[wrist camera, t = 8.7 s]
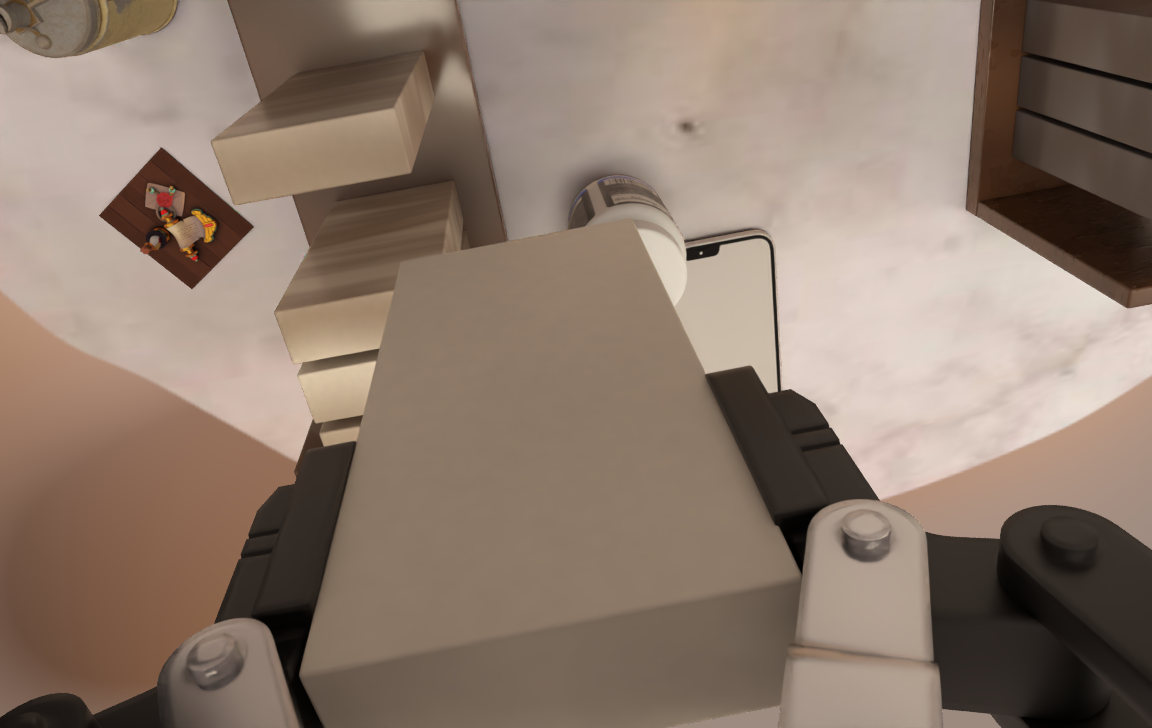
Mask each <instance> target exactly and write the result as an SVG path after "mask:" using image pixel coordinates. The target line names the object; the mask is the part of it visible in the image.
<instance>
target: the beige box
mask: <svg viewBox="0 0 1152 728" xmlns="http://www.w3.org/2000/svg"><path fill="white" fill-rule="evenodd" d="M705 374H706V373H705V370H704V368H703V366H702V364H701V362H700V360H699V358H698V356H697V354H696V352H695V349H694V347H693V345H692V343H691V341H690V339H689V337H688V335H687V333H686V331H685V328H684V326H683V324H682V322H681V320H680V318H679V316H678V314H677V312H676V310H675V308H674V305H673V303H672V301H671V299H670V297H669V295H668V293H667V291H666V289H665V287H664V284H663V282H662V280H661V278H660V276H659V274H658V272H657V270H656V268H655V266H654V263H653V261H652V259H651V257H650V255H649V253H648V251H647V249H646V247H645V245H644V243H643V240H642V238H641V236H640V234H639V232H638V230H637V228H636V226H635V224H634V222H633V220H632V218H627V219H622V220H617V221H612V222H606V223H601V224H596V225H591V226H586V227H580V228H575V229H570V230H565V231H560V232H555V233H549V234H544V235H539V236H534V237H529V238H523V239H518V240H513V241H508V242H503V243H497V244H492V245H487V246H482V247H477V248H471V249H466V250H461V251H456V252H451V253H446V254H440V255H435V256H430V257H425V258H420V259H414V260H409V261H404V262H401V264H400V268H399V272H398V276H397V280H396V284H395V288H394V292H393V296H392V300H391V304H390V308H389V312H388V316H387V320H386V324H385V328H384V332H383V336H382V340H381V344H380V349H379V353H378V357H377V361H376V365H375V369H374V373H373V377H372V381H371V385H370V389H369V393H368V397H367V401H366V405H365V409H364V413H363V417H362V421H361V425H360V429H359V433H358V438H357V442H356V446H355V450H354V454H353V458H352V462H351V466H350V470H349V474H348V478H347V482H346V486H345V490H344V494H343V498H342V502H341V506H340V510H339V514H338V518H337V522H336V527H335V531H334V535H333V539H332V543H331V547H330V551H329V555H328V559H327V563H326V567H325V571H324V575H323V579H322V583H321V587H320V591H319V595H318V599H317V603H316V607H315V611H314V616H313V620H312V624H311V628H310V632H309V636H308V640H307V644H306V648H305V652H304V656H303V660H302V664H301V668H300V672H299V677H300V680H301V682H302V684H303V686H304V688H305V690H306V692H307V694H308V696H309V698H310V700H311V703H312V705H313V707H314V709H315V711H316V713H317V715H318V717H319V719H320V721H321V723H322V725H323V727H324V728H668V727H674V726H678V725H684V724H689V723H694V722H699V721H705V720H710V719H715V718H720V717H725V716H730V715H735V714H740V713H746V712H751V711H756V710H761V709H766V708H771V707H777V706H780V705H781V696H782V688H783V680H784V672H785V664H786V656H787V651H788V647H789V644H790V643H793V644H794V643H795V636H796V628H797V619H798V610H799V601H800V593H801V584H802V574H801V572H800V570H799V568H798V565H797V563H796V561H795V559H794V557H793V555H792V553H791V551H790V549H789V547H788V544H787V542H786V540H785V538H784V536H783V534H782V532H781V530H780V528H779V526H775V524H774V522H773V520H772V518H771V516H770V513H769V511H768V509H767V507H766V505H765V503H764V501H763V499H762V496H761V494H760V492H759V490H758V488H757V486H756V484H755V482H754V479H753V477H752V475H751V473H750V471H749V469H748V467H747V464H746V462H745V460H744V458H743V456H742V454H741V452H740V450H739V447H738V445H737V443H736V441H735V439H734V437H733V435H732V432H731V430H730V428H729V426H728V424H727V422H726V420H725V418H724V415H723V413H722V411H721V409H720V407H719V405H718V403H717V401H716V398H715V396H714V394H713V392H712V390H711V388H710V386H709V383H708V381H707V379H706V377H705Z"/></svg>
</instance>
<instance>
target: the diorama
mask: <svg viewBox="0 0 1152 728" xmlns="http://www.w3.org/2000/svg"><path fill="white" fill-rule="evenodd" d="M99 216H100V217H101V218H103V219H104V220H105V221H106V222H108V223H109V224H110V225H111V226H113V227H114V228H115V229H116V230H118V231H119V232H120V233H121V234H123V235H124V236H125V237H127V238H128V239H129V240H130V241H132V242H133V243H134V244H135V245H137V246H138V247H139V248H140V249H141V252H143V253H144V254H148V255H149V256H151V257H152V258H153V259H154V260H156V261H157V262H158V263H159V264H161V265H162V266H163V267H164V268H166V269H167V270H168V271H170V272H171V273H172V274H173V275H175V276H176V277H177V278H178V279H180V280H181V281H182V282H183V283H185V284H186V285H187V286H189V287H190V288H191V289H193V288H194V287H195V286H196V285H197V284H198V283H199V282H200V281H201V280H202V279H203V278H204V277H205V276H206V275H207V274H208V273H209V272H210V271H211V270H212V269H213V268H214V267H215V266H216V265H217V264H218V263H219V261H220V260H221V259H222V258H223V257H224V256H225V255H226V254H227V253H228V252H229V251H230V250H231V249H232V248H233V247H234V246H235V245H236V244H237V243H238V242H239V241H240V240H241V239H242V238H243V237H244V236H245V235H246V234H247V233H248V232H249V231H250V230H251V229H252V228H253V226H252V225H251V224H250V223H248V222H247V221H246V220H245V219H244V218H243V217H241V216H240V215H239V214H238V213H237V212H236V211H234V210H233V209H232V208H231V207H230V206H229V205H227V204H226V203H225V202H224V201H223V200H222V199H220V198H219V197H218V196H217V195H216V194H215V193H213V192H212V191H211V190H210V189H209V188H208V187H206V186H205V185H204V184H203V183H202V182H201V181H199V180H198V179H197V178H196V177H195V176H194V175H192V174H191V173H190V172H189V171H188V170H187V169H185V168H184V167H183V166H182V165H181V164H180V163H178V162H177V161H176V160H175V159H174V158H173V157H172V156H170V155H169V154H168V153H167V152H166V151H165V150H163V149H162V148H160V149H159V151H158V152H157V153H156V154H155V155H154V156H153V157H152V158H151V159H150V160H149V162H148V163H147V164H146V165H145V166H144V167H143V168H142V169H141V170H140V171H139V172H138V174H137V175H136V176H135V177H134V178H133V179H132V180H131V181H130V182H129V183H128V184H127V186H126V187H125V188H124V189H123V190H122V191H121V192H120V193H119V194H118V195H117V197H116V198H115V199H114V200H113V201H112V202H111V203H110V204H109V205H108V206H107V207H106V209H105V210H104V211H103V212H102V213H101V214H100V215H99Z"/></svg>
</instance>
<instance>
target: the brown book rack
mask: <svg viewBox="0 0 1152 728" xmlns="http://www.w3.org/2000/svg"><path fill="white" fill-rule="evenodd" d="M966 210H967V211H969V212H970V213H972V214H973V215H975V216H977V217H979V218H980V219H982V220H984V221H985V222H987V223H989V224H990V225H992V226H994V227H995V228H997V229H998V230H1000V231H1002V232H1003V233H1005V234H1007V235H1008V236H1010V237H1012V238H1013V239H1015V240H1016V241H1018V242H1020V243H1021V244H1023V245H1025V246H1026V247H1028V248H1029V249H1031V250H1033V251H1034V252H1036V253H1038V254H1039V255H1041V256H1043V257H1044V258H1046V259H1047V260H1049V261H1051V262H1052V263H1054V264H1056V265H1057V266H1059V267H1060V268H1062V269H1064V270H1065V271H1067V272H1069V273H1070V274H1072V275H1074V276H1075V277H1077V278H1078V279H1080V280H1082V281H1083V282H1085V283H1087V284H1088V285H1090V286H1092V287H1093V288H1095V289H1096V290H1098V291H1100V292H1101V293H1103V294H1105V295H1106V296H1108V297H1109V298H1111V299H1113V300H1114V301H1116V302H1118V303H1119V304H1121V305H1123V306H1124V307H1126V308H1133V307H1139V306H1144V305H1150V304H1152V0H982V3H981V16H980V30H979V44H978V57H977V71H976V84H975V98H974V112H973V125H972V139H971V153H970V166H969V180H968V194H967V207H966Z"/></svg>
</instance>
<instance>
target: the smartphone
mask: <svg viewBox="0 0 1152 728" xmlns="http://www.w3.org/2000/svg"><path fill="white" fill-rule="evenodd" d="M685 245H686V266H687V283H686V287H685V290H684V293H683V295H682V297H681V299H680V300H679V302H678V303H677V304H676V305H675V307H674V308H675V310H676V312H677V314H678V316H679V318H680V320H681V322H682V324H683V326H684V328H685V331H686V333H687V335H688V337H689V339H690V341H691V343H692V345H693V347H694V349H695V352H696V354H697V356H698V358H699V360H700V362H701V364H702V366H703V368H704V370H705V373H706V374H707V373H712V372H718V371H723V370H728V369H733V368H738V367H744V366H749V365H751V366H752V367H753V368H754V370H755V371H756V373H757V375H758V376H759V378H760V380H761V382H762V383H763V385H764V387H765V388H766V390H767V392H768V393H774V392H779V391H782V374H781V354H780V334H779V313H778V293H777V274H776V254H775V245H774V242H773V240H772V239H771V238H770V236H769V235H768V234H767V233H765V232H763V231H761V230H749V231H744V232H739V233H733V234H728V235H723V236H718V237H712V238H707V239H702V240H697V241H691V242H686V243H685Z"/></svg>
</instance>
